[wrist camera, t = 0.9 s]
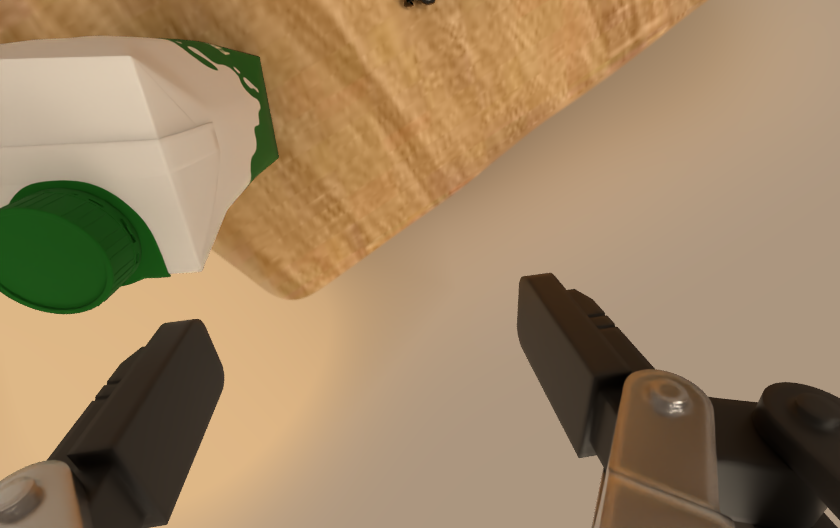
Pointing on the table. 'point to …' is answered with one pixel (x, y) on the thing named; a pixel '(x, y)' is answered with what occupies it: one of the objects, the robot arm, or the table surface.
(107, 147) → the milk carton
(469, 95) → the table surface
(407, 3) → the black gauge box
